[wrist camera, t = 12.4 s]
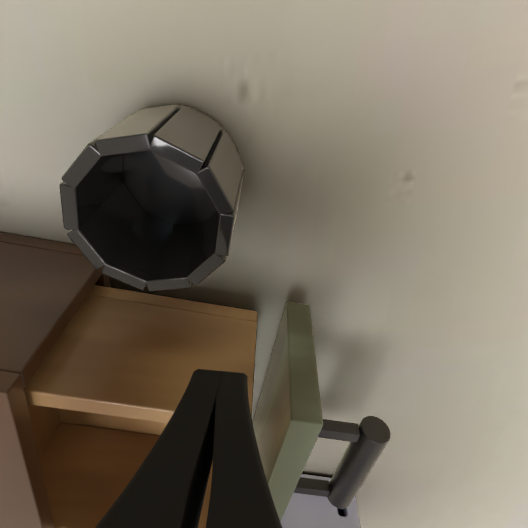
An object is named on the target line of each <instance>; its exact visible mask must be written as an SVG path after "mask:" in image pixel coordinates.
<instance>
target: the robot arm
mask: <svg viewBox="0 0 528 528" xmlns="http://www.w3.org/2000/svg"><path fill="white" fill-rule="evenodd" d="M247 380H248V376H247V375H246V374H244V373H239V372H227V371H216V370H205V369H197V370H195V371H194V372H193V374H192V377H191V379H190V382H189V384H188V386H187V388H186V390H185V392H184V394H183V396H182V398H181V400H180V402H179V404H178V406H177V408H176V410H175V411H174V413H173V415H172V417H171V418H170V420H169V422H168V423H167V425H166V427H165V428H164V430H163V432H162V433H161V435H160V437H159V438H158V440H157V442H156V443H155V445H154V446H153V448H152V450H151V451H150V453H149V454H148V455H147V457H146V458H145V460H144V461H143V463H142V464H141V466H140V467H139V469H138V470H137V472H136V473H135V475H134V476H133V478H132V479H131V481H130V482H129V483H128V485H127V486H126V488H125V489H124V490H123V492H122V493H121V494H120V496H119V497H118V498H117V500H116V501H115V502H114V504H113V505H112V506H111V508H110V509H109V510H108V512H107V513H106V514H105V516H104V517H103V518H102V519H101V521H100V522H99V523H98V525H97V526H96V527H95V528H198V524H199V519H200V515H201V510H202V506H203V502H204V497H205V493H206V488H207V484H208V479H209V475H210V470H211V465H212V461H213V466H212V482H211V493H210V501H209V508H208V515H207V521H206V528H361V526H360V520H359V514H358V508H357V502H356V496H355V497H354V498H353V500H352V502H351V503H350V505H349V506H348V507H346V508H343V509H340V508H337V507H335V506H333V505H332V504H331V503H330V502H329V500H328V498H327V497H323V496H315V495H307V494H299V493H293V495H292V497H291V499H290V501H289V504H288V506H287V508H286V510H285V513H284V515H283V517H282V520H281V522H280V520H279V517H278V514H277V511H276V508H275V505H274V502H273V499H272V496H271V492H270V489H269V486H268V483H267V479H266V476H265V473H264V469H263V465H262V462H261V458H260V454H259V450H258V445H257V441H256V437H255V433H254V428H253V423H252V418H251V412H250V405H249V398H248V383H247ZM300 477H304V478H312V479H320V480H327V481H329V482H330V480H331V478H328V477H321V476H313V475H305V474H301V476H300Z"/></svg>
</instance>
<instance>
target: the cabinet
mask: <svg viewBox="0 0 528 528" xmlns="http://www.w3.org/2000/svg"><path fill="white" fill-rule="evenodd" d="M102 269H103V267H101V268H99V269H95V267H94V266H93V265H92V264H91V263H90V261H89V260H88V259H87V258H86V257H85V255H84V254H83V253H82V252H81V251H80V249H79V248H78V247H77V246H76V245H74V244H68V243H62V242H56V241H50V240H44V239H39V238H33V237H27V236H21V235H15V234H9V233H3V232H0V528H55V526H54V522H53V517H52V513H51V508H50V504H49V499H48V495H47V490H46V486H45V481H44V477H43V472H42V468H41V463H40V459H39V454H38V450H37V445H36V441H35V436H34V432H33V427H32V423H31V418H30V414H29V409H28V405H27V400H26V396H25V391H24V387H26V385H27V384H28V382H29V381H30V379H31V378H32V376H33V375H34V373H35V372H36V370H37V369H38V367H39V366H40V364H41V363H42V361H43V360H44V358H45V357H46V356H47V354H48V353H49V351H50V350H51V348H52V347H53V345H54V344H55V342H56V341H57V339H58V338H59V336H60V335H61V333H62V332H63V330H64V329H65V327H66V326H67V325H68V323H69V322H70V320H71V319H72V317H73V316H74V314H75V313H76V311H77V310H78V308H79V307H80V305H81V304H82V302H83V301H84V299H85V298H86V296H87V295H88V294H89V292H90V291H91V289H92V288H93V286H94V285H98V286H104V287H110V277H109V276H107V275H104V274H102Z"/></svg>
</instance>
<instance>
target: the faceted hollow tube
mask: <svg viewBox="0 0 528 528" xmlns="http://www.w3.org/2000/svg"><path fill="white" fill-rule="evenodd" d="M243 176H244V169H243V163H242V161H241V159H240V156H239V153H238V151H237V148H236V146H235V144H234V142H233V140H232V139H231V137H230V136H229V135H228V133H227V131H226V130H224V129H223V127H222V126H221V125H220V124H218V123H217V122H216V121H215V120H214V119H212V118H211V117H209V116H208V115H206V114H204V113H202V112H200V111H198V110H195V109H193V108H190V107H187V106H185V105H184V106H180V104H174V105H163V106H158V107H152V108H145V109H140V110H139V111H137V112H135V113H133V114H132V115H130V116H129V117H127V118H126V119H124V120H123V121H121V122H120V123H118V124H117V125H115V126H114V127H112V128H111V129H109V130H108V131H107V132H105V133H104V134H102V135H101V136H99V137H98V138H96V139H95V140H93V141H92V142H90V143H89V144H88V145H87V146H86V147H85V149H84V150H83V151H82V152H81V154H80V155H79V156H78V157H77V159H76V160H75V161H74V162H73V164H72V165H71V166H70V167H69V169H68V170H67V171H66V172H65V174H64V175H63V176H62V180H63V182H62V183H60V194H61V204H62V214H63V223H64V228H65V229H69V230H70V231H69V232H68V233H67V235H68V236H69V237H70V239H71V240H72V241H73V242H74V243H75V245H76V246H77V247H78V248H79V249H80V251H81V252H82V253H83V254H84V255H85V257H86V258H87V259H88V260H89V261H90V263H91V264H92V265H93V266H94V267H95V269H99V268H101V267H103V269H102V274H104V275H107V276H109V277H112V278H114V279H116V280H119V281H121V282H123V283H126V284H128V285H131V286H133V287H135V288H138V289H140V290H144V289H145V287H146V285H147V288H148V291H150V292H151V291H162V290H173V289H184V288H190V287H191V285H192V284H193V285H195V286H196V285H197V284H199V283H200V282H201V281H202V280H203V279H205V278H206V277H207V276H208V275H209V274H211V273H212V272H213V271H214V270H215V269H217V268H218V267H219V266H220V265H221V264H223V263H224V262H225V261H226V256H228V255H229V251H230V246H231V241H232V236H233V231H234V226H235V221H236V216H237V211H238V206H239V200H240V194H241V188H242V182H243Z"/></svg>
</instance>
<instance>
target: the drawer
mask: <svg viewBox="0 0 528 528" xmlns="http://www.w3.org/2000/svg"><path fill="white" fill-rule="evenodd" d="M257 318H258V312H257V311H251V310H245V309H239V308H233V307H227V306H221V305H214V304H208V303H202V302H196V301H190V300H184V299H178V298H171V297H165V296H159V295H153V294H147V293H141V292H134V291H128V290H122V289H116V288H110V287H104V286H98V285H94V286H93V288H92V289H91V291H90V292H89V294H88V295H87V296H86V298H85V299H84V301H83V302H82V304H81V305H80V307H79V308H78V310H77V311H76V313H75V314H74V316H73V317H72V319H71V320H70V322H69V323H68V325H67V326H66V327H65V329H64V330H63V332H62V333H61V335H60V336H59V338H58V339H57V341H56V342H55V344H54V345H53V347H52V348H51V350H50V351H49V353H48V354H47V356H46V357H45V358H44V360H43V361H42V363H41V364H40V366H39V367H38V369H37V370H36V372H35V373H34V375H33V376H32V378H31V379H30V381H29V382H28V384H27V385H26V387H24V391H25V396H26V400H27V405H28V409H29V414H30V418H31V423H32V427H33V432H34V436H35V441H36V445H37V450H38V454H39V459H40V463H41V468H42V472H43V477H44V481H45V486H46V490H47V495H48V499H49V504H50V508H51V513H52V517H53V522H54V526H55V528H95V527H96V526H97V525H98V523H99V522H100V521H101V519H102V518H103V517H104V516H105V514H106V513H107V512H108V510H109V509H110V508H111V506H112V505H113V504H114V502H115V501H116V500H117V498H118V497H119V496H120V494H121V493H122V492H123V490H124V489H125V488H126V486H127V485H128V483H129V482H130V481H131V479H132V478H133V476H134V475H135V473H136V472H137V470H138V469H139V467H140V466H141V464H142V463H143V461H144V460H145V458H146V457H147V455H148V454H149V453H150V451H151V450H152V448H153V446H154V445H155V443H156V442H157V440H158V438H159V437H160V435H161V433H162V432H163V430H164V428H165V427H166V425H167V423H168V422H169V420H170V418H171V417H172V415H173V413H174V411H175V410H176V408H177V406H178V404H179V402H180V400H181V398H182V396H183V394H184V392H185V390H186V388H187V386H188V384H189V382H190V379H191V377H192V374H193V372H194V371H195V370H197V369H205V370H216V371H227V372H239V373H244V374H246V375H247V376H248V380H247V383H248V398H249V405H250V412H251V415H252V398H253V382H254V366H255V350H256V334H257ZM253 428H254V433H255V437H256V441H257V445H258V450H259V454H260V458H261V462H262V465H263V469H264V473H265V476H266V479H267V483H268V486H269V489H270V492H271V496H272V499H273V502H274V505H275V508H276V511H277V514H278V517H279V520H280V522H281V520H282V517H283V515H284V513H285V510H286V508H287V506H288V504H289V501H290V499H291V497H292V495H293V493H299V494H307V495H315V496H323V497H327V498H328V500H329V502H330V503H331V504H332V505H333V506H335V507H337V508H340V509H343V508H346V507H348V506H349V505H350V503H351V502H352V500H353V498H354V497H355V495H356V493H357V492H358V490H359V488H360V487H361V485H362V484H363V482H364V480H365V479H366V477H367V475H368V474H369V472H370V470H371V469H372V467H373V466H374V464H375V462H376V461H377V459H378V457H379V456H380V454H381V452H382V451H383V449H384V448H385V446H386V444H387V443H388V441H389V439H390V430H389V428H388V426H387V425H386V424H385V422H383V421H382V420H381V419H379V418H377V417H374V416H367V417H365V418H363V419H362V421H361V423H360V425H359V426H358V424H354V423H347V422H340V421H333V420H326V419H323V418H322V410H321V401H320V392H319V384H318V375H317V366H316V358H315V349H314V340H313V332H312V323H311V314H310V306H309V305H306V304H299V303H293V302H287V303H286V305H285V309H284V313H283V316H282V320H281V323H280V327H279V331H278V334H277V338H276V341H275V345H274V349H273V352H272V356H271V359H270V363H269V367H268V370H267V374H266V377H265V381H264V384H263V388H262V392H261V395H260V399H259V402H258V406H257V410H256V413H255V417H254V420H253ZM318 437H321V438H328V439H336V440H343V441H350V444H349V446H348V448H347V449H346V451H345V453H344V455H343V457H342V459H341V461H340V463H339V465H338V467H337V469H336V471H335V472H334V474H333V476H332V478H331V480H330V482H329V481H327V480H320V479H312V478H304V477H300V476H301V474H302V472H303V470H304V467H305V465H306V463H307V460H308V458H309V456H310V454H311V451H312V449H313V447H314V444H315V442H316V440H317V438H318ZM212 466H213V461H212V465H211V470H210V475H209V479H208V484H207V488H206V493H205V497H204V502H203V506H202V510H201V515H200V519H199V524H198V528H206V521H207V515H208V508H209V501H210V493H211V482H212Z"/></svg>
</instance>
